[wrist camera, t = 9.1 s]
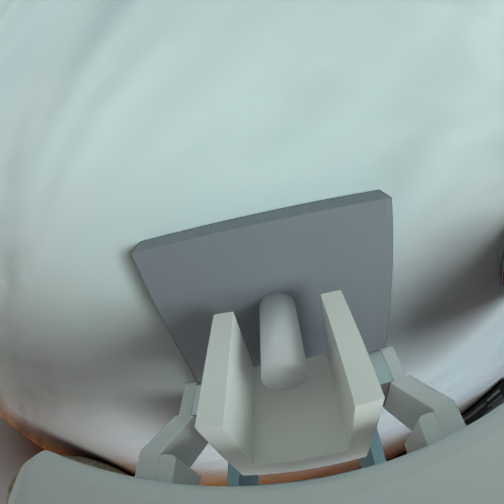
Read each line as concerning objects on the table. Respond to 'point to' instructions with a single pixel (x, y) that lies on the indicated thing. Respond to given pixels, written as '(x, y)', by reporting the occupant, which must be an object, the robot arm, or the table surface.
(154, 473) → the robot arm
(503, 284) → the soda can
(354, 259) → the plate
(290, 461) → the jaw
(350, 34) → the table surface
